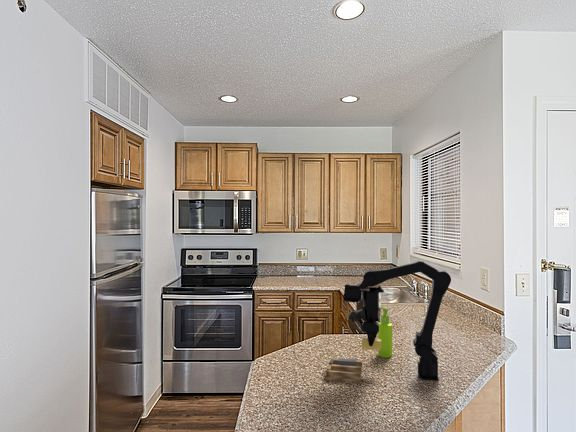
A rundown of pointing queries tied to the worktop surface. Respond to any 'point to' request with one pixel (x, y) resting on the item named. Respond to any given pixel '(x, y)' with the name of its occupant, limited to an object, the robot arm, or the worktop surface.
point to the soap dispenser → (385, 334)
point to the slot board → (343, 372)
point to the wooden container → (361, 302)
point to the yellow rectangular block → (375, 345)
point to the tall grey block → (347, 362)
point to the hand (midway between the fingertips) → (370, 344)
